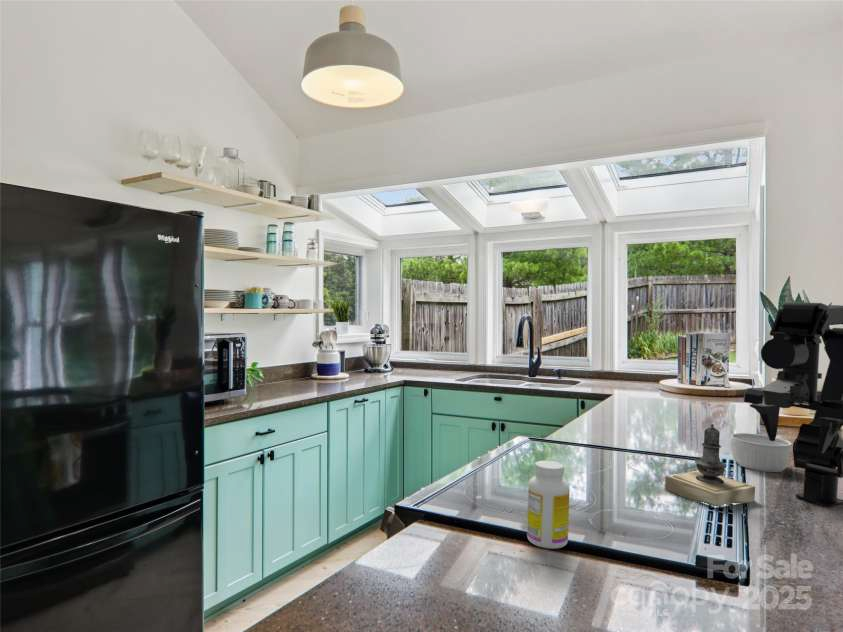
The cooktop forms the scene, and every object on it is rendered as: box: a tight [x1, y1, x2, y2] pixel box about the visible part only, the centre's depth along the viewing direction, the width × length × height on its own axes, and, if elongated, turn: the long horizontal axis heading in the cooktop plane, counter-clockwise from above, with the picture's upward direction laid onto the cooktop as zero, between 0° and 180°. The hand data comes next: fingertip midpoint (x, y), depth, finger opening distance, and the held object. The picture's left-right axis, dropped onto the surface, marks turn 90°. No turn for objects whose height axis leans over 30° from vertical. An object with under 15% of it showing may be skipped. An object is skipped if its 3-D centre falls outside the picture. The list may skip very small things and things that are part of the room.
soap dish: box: [664, 470, 756, 506], centre depth 117 cm, size 12×12×3 cm
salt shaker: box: [694, 423, 727, 484], centre depth 116 cm, size 6×6×12 cm
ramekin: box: [730, 432, 793, 473], centre depth 140 cm, size 13×13×7 cm
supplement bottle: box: [526, 460, 570, 550], centre depth 91 cm, size 7×7×13 cm
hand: (796, 446), depth 108 cm, fingers open, 9 cm apart
